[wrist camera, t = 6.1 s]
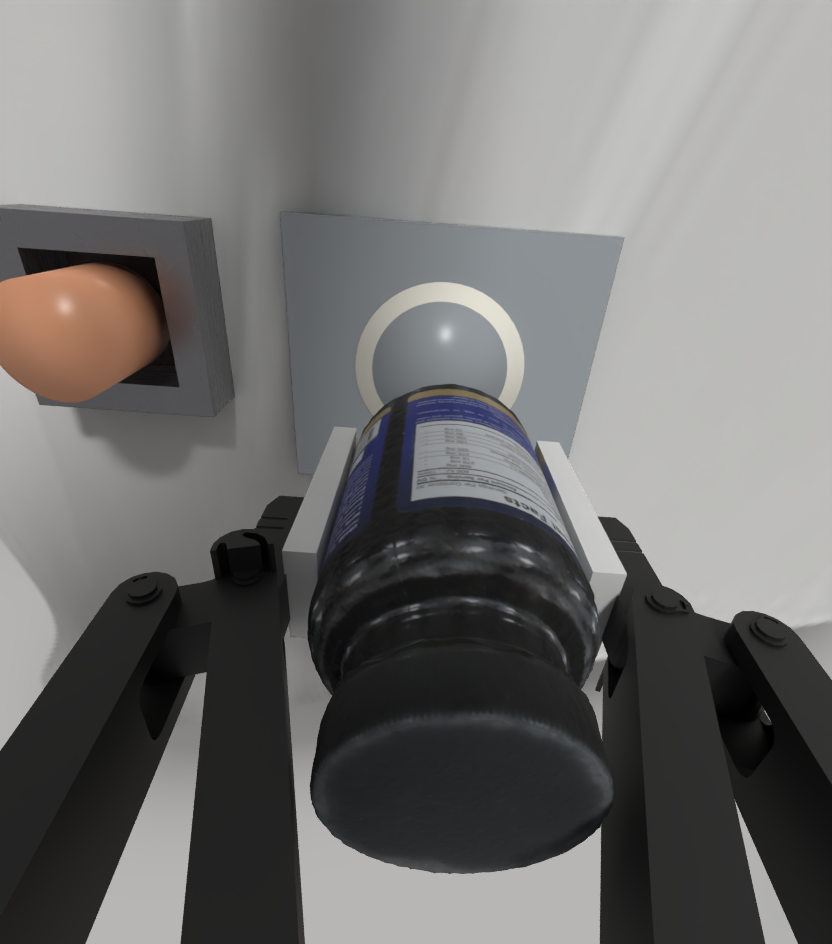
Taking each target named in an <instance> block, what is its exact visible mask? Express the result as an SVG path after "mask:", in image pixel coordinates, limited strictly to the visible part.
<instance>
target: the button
mask: <svg viewBox="0 0 832 944" xmlns="http://www.w3.org/2000/svg"><path fill="white" fill-rule="evenodd" d="M169 338H170V335H169V330H168V325H167V319H166V314H165V309H164V304H163V302H162V300H161V298H160V296H159V295H158V293H157V292H156V291H155V290H154V288H153V287H152V286H151V285H150V284H149V283H148V282H147V281H146V280H145V279H144V278H143V277H141V276H140V275H139V274H137V273H136V272H134V271H133V270H131V269H129V268H127V267H125V266H122V265H120V264H116V263H113V262H106V261H97V262H91V263H86V264H81V265H76V266H71V267H66V268H61V269H56V270H51V271H46V272H41V273H36V274H32V275H27V276H22V277H17V278H12V279H8V280H5V281H2V282H0V365H1V366H2V367H3V369H4V370H5V371H6V372H7V373H8V374H9V375H10V376H11V377H12V378H14V379H15V380H16V381H17V382H18V383H20V384H21V385H23V386H24V387H26V388H27V389H29V390H30V391H32V392H34V393H36V394H38V395H40V396H42V397H45V398H48V399H51V400H55V401H59V402H73V403H74V402H82V401H86V400H89V399H91V398H93V397H95V396H97V395H98V394H100V393H102V392H103V391H105V390H107V389H108V388H110V387H112V386H113V385H115V384H117V383H118V382H120V381H122V380H123V379H125V378H127V377H128V376H130V375H132V374H133V373H135V372H137V371H138V370H140V369H141V368H143V367H145V366H146V365H148V364H150V363H151V362H153V361H155V360H156V359H158V358H159V357H160V356H161V355H162V353H163V352H164V351H165V349H166V347H167V345H168V342H169Z"/></svg>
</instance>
